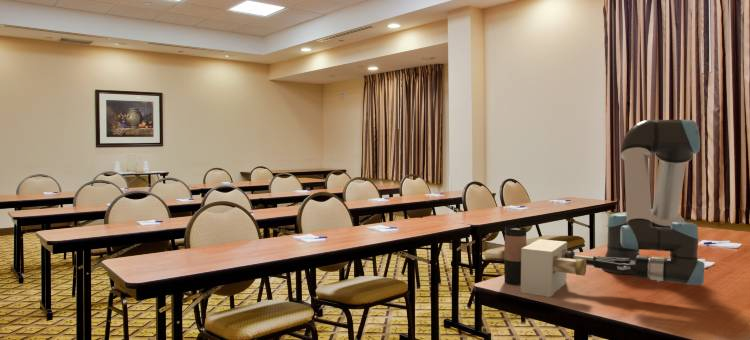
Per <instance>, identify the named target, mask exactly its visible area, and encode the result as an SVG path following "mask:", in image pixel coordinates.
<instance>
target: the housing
mask: <svg viewBox="0 0 750 340" xmlns="http://www.w3.org/2000/svg"><path fill="white" fill-rule="evenodd" d="M562 251H568V241H565V240H564V241H563V240H551V239H543V238H542V239H541V238H539V239H536V240H535V241H533V242H531V243H529V244H528V245H527V244H526V246H525V247H523V248H521V285H520V294H521V293H523V294H527V295H528V294H530V295H533V296H534V295H535V296H542V297H548V298H551V297H552V296H554V293H555V292H556V291H557V290H558V291H560V290H561V288H562V287H564V285H566V283H567V273H564V272H556V271H553V257H560V258H562ZM558 291H557V292H558ZM557 292H556V293H557Z"/></svg>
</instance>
